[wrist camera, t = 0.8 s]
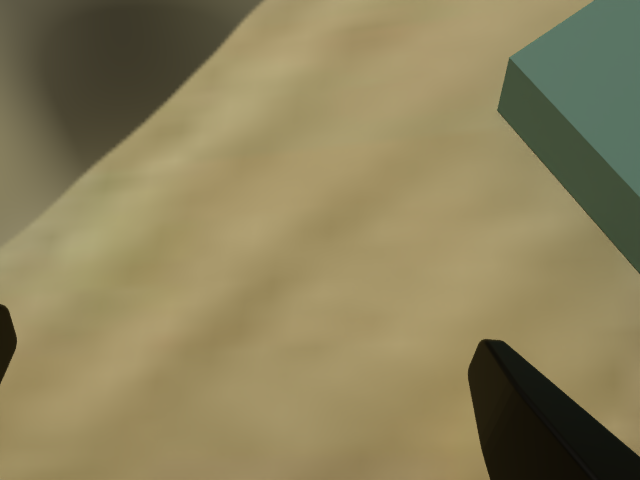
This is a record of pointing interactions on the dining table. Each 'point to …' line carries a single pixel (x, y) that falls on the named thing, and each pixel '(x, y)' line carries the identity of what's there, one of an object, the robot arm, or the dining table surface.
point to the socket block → (586, 112)
